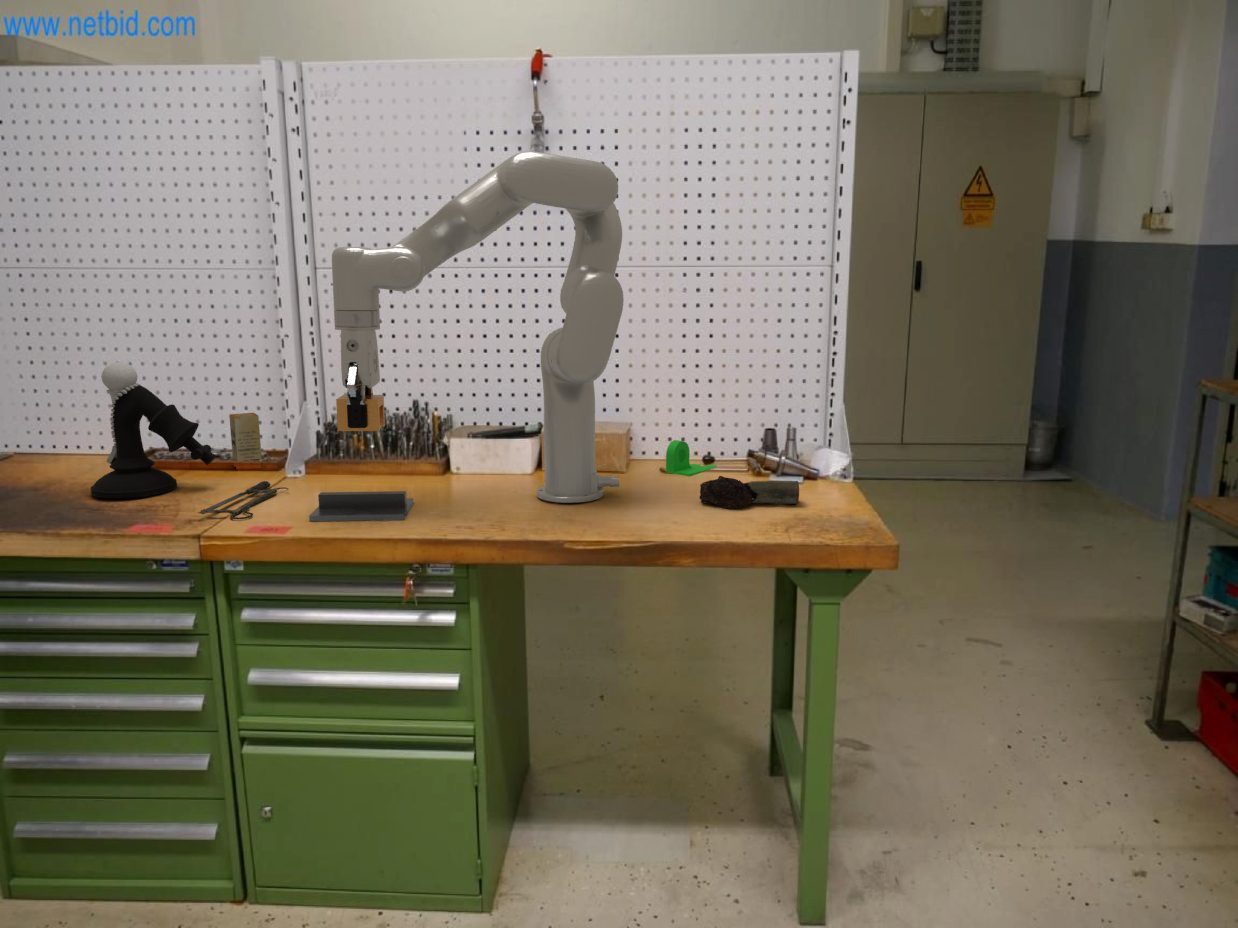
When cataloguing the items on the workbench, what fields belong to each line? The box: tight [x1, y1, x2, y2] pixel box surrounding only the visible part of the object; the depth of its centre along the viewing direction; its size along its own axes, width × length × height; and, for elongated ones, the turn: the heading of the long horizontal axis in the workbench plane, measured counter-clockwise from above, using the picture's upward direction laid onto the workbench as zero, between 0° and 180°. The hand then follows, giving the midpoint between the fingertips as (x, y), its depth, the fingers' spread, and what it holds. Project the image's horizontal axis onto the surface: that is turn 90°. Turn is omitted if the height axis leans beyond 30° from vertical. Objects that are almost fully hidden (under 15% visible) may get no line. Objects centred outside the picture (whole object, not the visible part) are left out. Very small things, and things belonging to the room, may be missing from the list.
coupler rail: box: [308, 490, 415, 522], centre depth 169 cm, size 16×12×4 cm
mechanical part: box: [665, 439, 718, 477], centre depth 199 cm, size 12×6×8 cm, turn 141°
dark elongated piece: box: [698, 475, 800, 510], centre depth 172 cm, size 18×7×6 cm, turn 87°
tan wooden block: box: [335, 394, 386, 432], centre depth 166 cm, size 7×6×6 cm
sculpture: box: [90, 361, 217, 499], centre depth 184 cm, size 15×24×25 cm, turn 92°
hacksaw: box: [197, 480, 289, 520], centre depth 175 cm, size 24×10×1 cm, turn 171°
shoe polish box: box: [228, 412, 263, 461], centre depth 204 cm, size 5×5×12 cm
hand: (361, 423), depth 166 cm, fingers closed on tan wooden block, 6 cm apart
